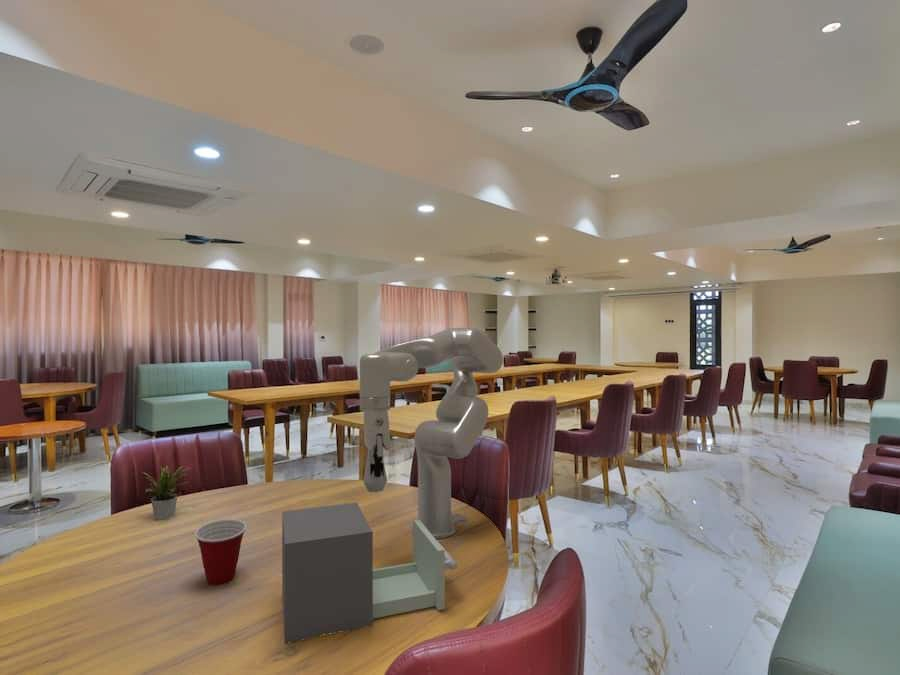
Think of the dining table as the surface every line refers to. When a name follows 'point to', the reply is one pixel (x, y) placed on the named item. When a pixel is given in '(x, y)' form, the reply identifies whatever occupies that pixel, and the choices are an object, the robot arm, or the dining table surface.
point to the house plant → (164, 494)
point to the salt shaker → (373, 477)
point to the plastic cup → (220, 549)
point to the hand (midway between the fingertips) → (375, 476)
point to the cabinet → (326, 571)
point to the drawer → (413, 578)
